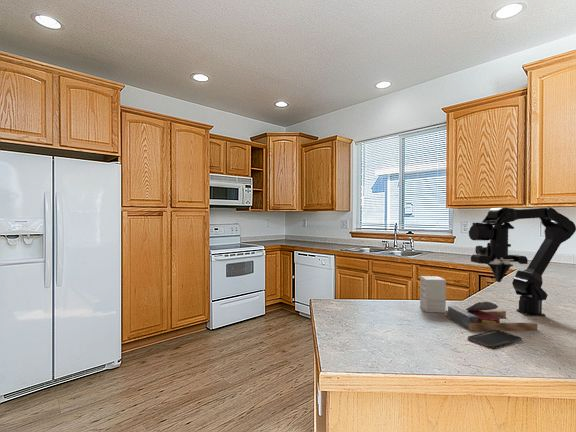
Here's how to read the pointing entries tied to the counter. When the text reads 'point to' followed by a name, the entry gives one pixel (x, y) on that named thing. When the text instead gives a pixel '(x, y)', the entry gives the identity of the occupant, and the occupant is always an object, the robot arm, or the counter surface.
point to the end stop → (461, 316)
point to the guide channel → (500, 324)
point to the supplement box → (433, 294)
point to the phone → (494, 339)
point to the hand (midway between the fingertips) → (498, 281)
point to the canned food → (482, 315)
